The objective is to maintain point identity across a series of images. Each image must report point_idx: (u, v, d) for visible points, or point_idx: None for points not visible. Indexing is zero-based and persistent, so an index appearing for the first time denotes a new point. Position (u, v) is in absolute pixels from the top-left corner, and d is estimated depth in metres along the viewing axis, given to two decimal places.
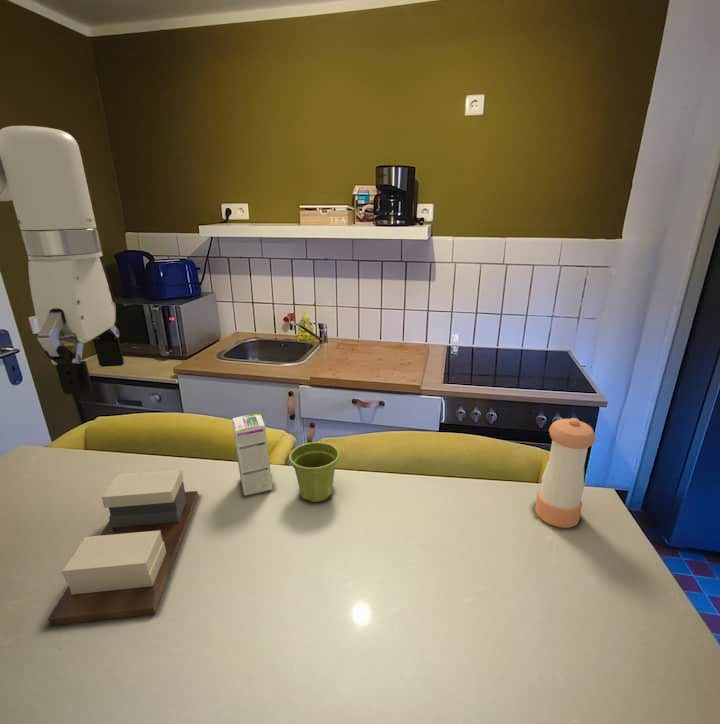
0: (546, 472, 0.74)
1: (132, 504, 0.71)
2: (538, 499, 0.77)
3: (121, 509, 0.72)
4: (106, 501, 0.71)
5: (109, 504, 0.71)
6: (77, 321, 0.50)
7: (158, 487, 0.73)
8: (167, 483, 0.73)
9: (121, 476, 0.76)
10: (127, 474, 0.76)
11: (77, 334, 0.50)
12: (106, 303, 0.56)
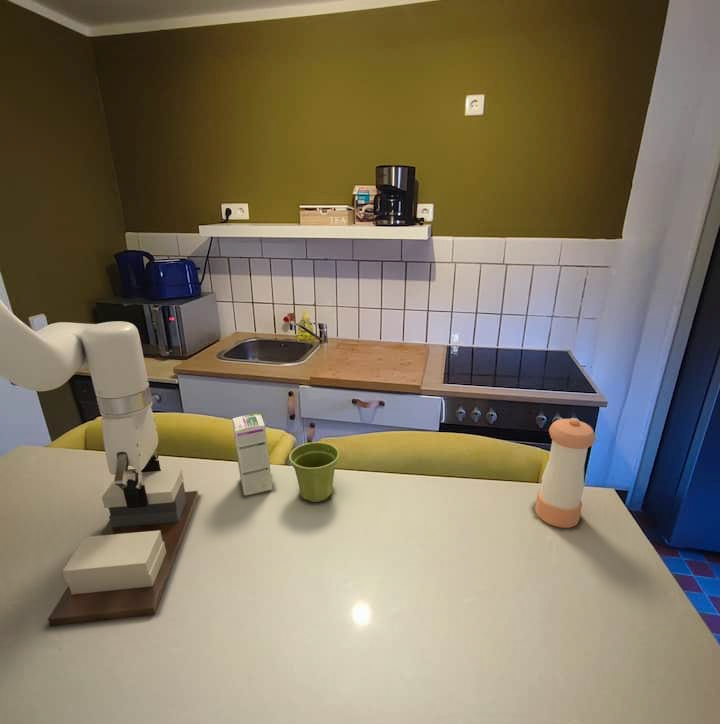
0: (546, 472, 0.74)
1: None
2: (538, 499, 0.77)
3: (121, 509, 0.72)
4: (106, 501, 0.71)
5: (109, 504, 0.71)
6: (136, 459, 0.67)
7: (158, 487, 0.73)
8: (167, 483, 0.73)
9: None
10: (127, 474, 0.76)
11: (136, 468, 0.67)
12: (153, 433, 0.73)
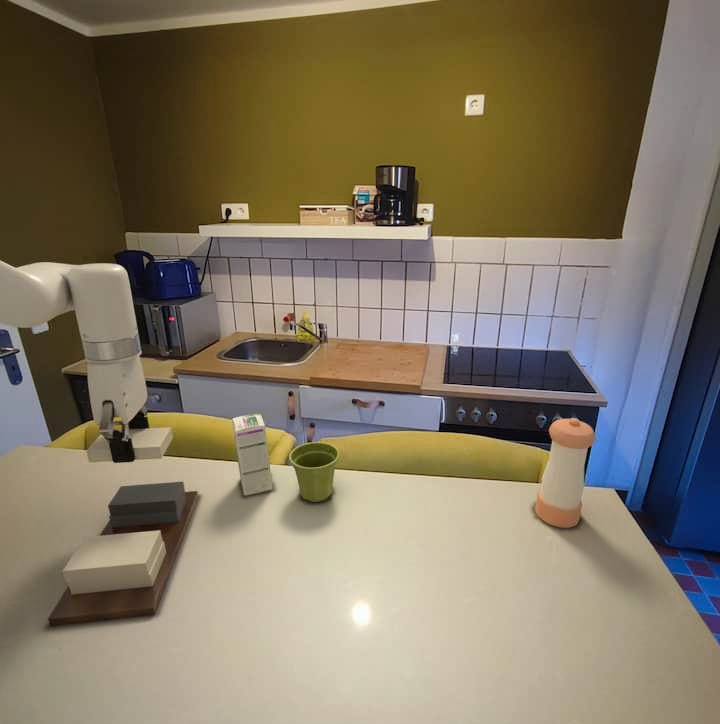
0: (546, 472, 0.74)
1: None
2: (538, 499, 0.77)
3: (121, 509, 0.72)
4: (91, 455, 0.67)
5: (94, 458, 0.68)
6: (123, 408, 0.64)
7: (146, 442, 0.69)
8: (155, 439, 0.70)
9: None
10: None
11: (122, 418, 0.64)
12: (142, 386, 0.70)
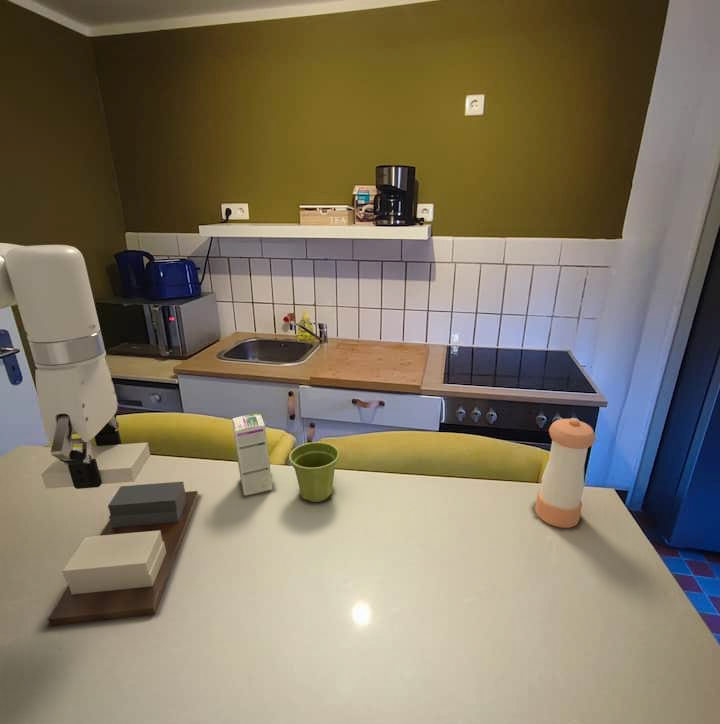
0: (546, 472, 0.74)
1: None
2: (538, 499, 0.77)
3: (121, 509, 0.72)
4: (47, 480, 0.55)
5: (52, 484, 0.56)
6: (82, 424, 0.52)
7: (115, 462, 0.57)
8: (127, 458, 0.58)
9: None
10: (79, 448, 0.61)
11: (82, 435, 0.52)
12: (109, 395, 0.58)
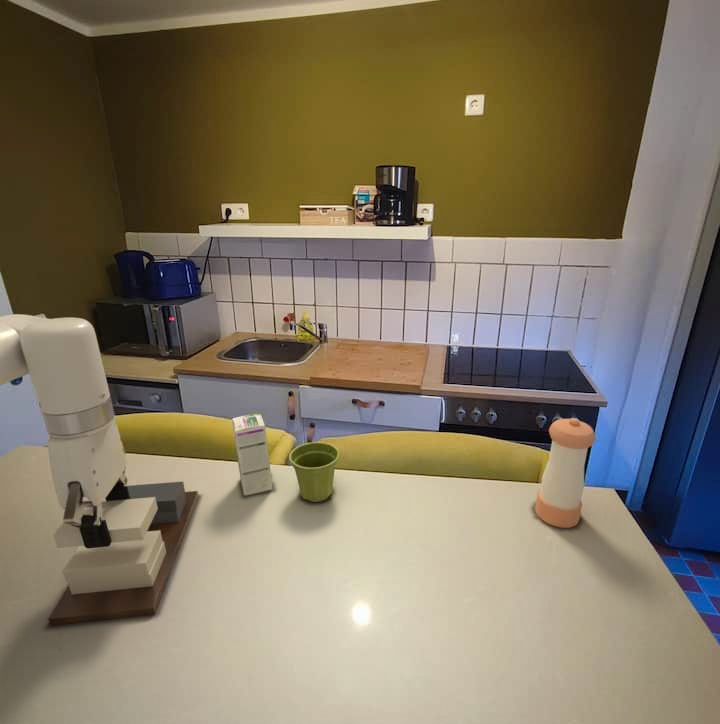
0: (546, 472, 0.74)
1: None
2: (538, 499, 0.77)
3: None
4: (59, 540, 0.57)
5: (63, 543, 0.57)
6: (93, 489, 0.54)
7: (124, 521, 0.59)
8: (136, 516, 0.60)
9: None
10: None
11: (93, 501, 0.54)
12: (118, 455, 0.60)
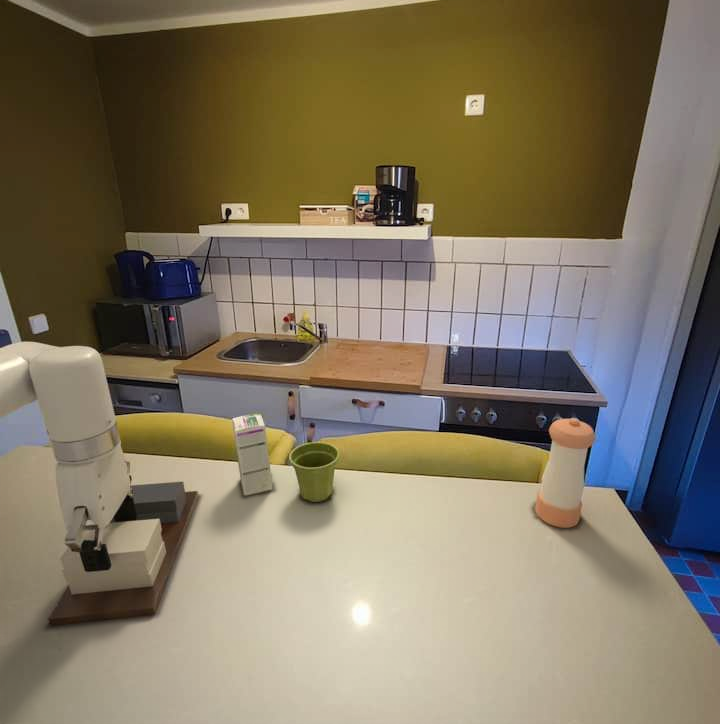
0: (546, 472, 0.74)
1: None
2: (538, 499, 0.77)
3: None
4: (66, 563, 0.59)
5: (70, 566, 0.59)
6: (99, 514, 0.55)
7: (129, 543, 0.61)
8: (140, 539, 0.61)
9: None
10: None
11: (99, 524, 0.55)
12: (123, 477, 0.61)
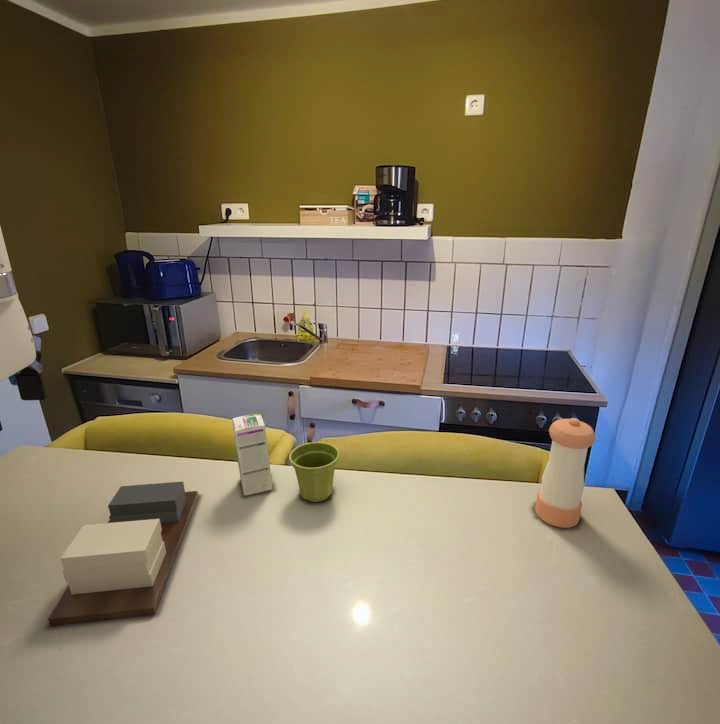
0: (546, 472, 0.74)
1: (98, 566, 0.59)
2: (538, 499, 0.77)
3: (121, 509, 0.72)
4: (66, 563, 0.59)
5: (70, 566, 0.59)
6: None
7: (129, 543, 0.61)
8: (140, 539, 0.61)
9: (87, 528, 0.64)
10: (94, 526, 0.64)
11: None
12: (24, 342, 0.57)
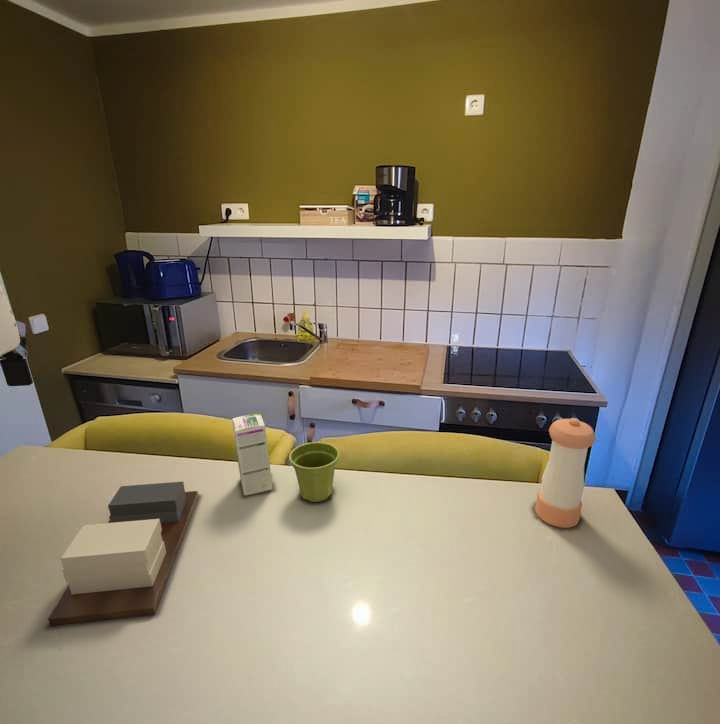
0: (546, 472, 0.74)
1: (98, 566, 0.59)
2: (538, 499, 0.77)
3: (121, 509, 0.72)
4: (66, 563, 0.59)
5: (70, 566, 0.59)
6: None
7: (129, 543, 0.61)
8: (140, 539, 0.61)
9: (87, 528, 0.64)
10: (94, 526, 0.64)
11: None
12: (6, 325, 0.57)
